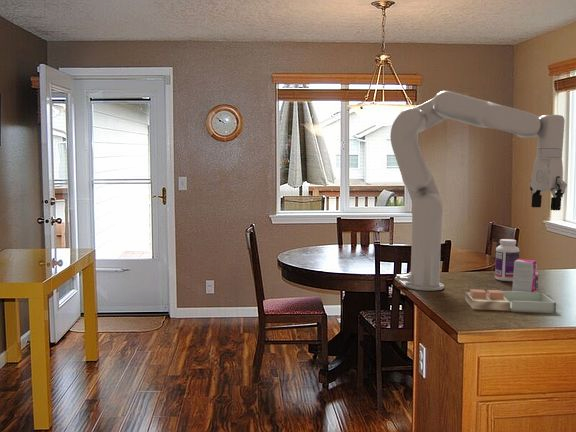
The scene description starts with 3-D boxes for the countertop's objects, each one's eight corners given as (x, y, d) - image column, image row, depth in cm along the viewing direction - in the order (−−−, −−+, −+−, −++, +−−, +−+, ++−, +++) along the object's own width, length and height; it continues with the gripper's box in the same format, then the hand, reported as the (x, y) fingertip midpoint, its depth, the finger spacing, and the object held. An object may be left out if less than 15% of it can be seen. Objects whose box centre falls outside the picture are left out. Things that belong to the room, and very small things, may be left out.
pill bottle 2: (538, 293, 214) (540, 266, 213) (522, 292, 215) (523, 265, 214) (536, 290, 219) (537, 263, 219) (519, 289, 220) (521, 262, 220)
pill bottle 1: (520, 279, 238) (522, 239, 236) (515, 283, 231) (517, 242, 230) (497, 276, 242) (499, 237, 241) (491, 280, 235) (493, 240, 234)
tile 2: (489, 298, 194) (489, 292, 194) (486, 295, 198) (487, 289, 198) (503, 299, 194) (503, 293, 193) (500, 296, 198) (500, 290, 197)
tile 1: (472, 297, 194) (472, 291, 194) (469, 295, 198) (470, 289, 198) (486, 298, 194) (486, 292, 194) (483, 295, 198) (483, 289, 198)
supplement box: (530, 298, 206) (532, 262, 205) (511, 296, 209) (513, 260, 208) (534, 295, 211) (536, 260, 210) (515, 293, 214) (517, 258, 213)
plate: (472, 309, 191) (472, 300, 191) (465, 299, 203) (465, 292, 202) (509, 310, 190) (510, 302, 190) (500, 301, 202) (500, 293, 201)
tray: (512, 311, 189) (512, 301, 189) (501, 300, 203) (501, 290, 202) (555, 313, 188) (556, 302, 187) (541, 302, 202) (541, 292, 201)
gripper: (522, 153, 215) (519, 206, 217) (556, 154, 198) (552, 211, 200) (542, 154, 217) (539, 206, 219) (578, 155, 200) (573, 211, 202)
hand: (545, 208), depth 209 cm, fingers open, 9 cm apart
